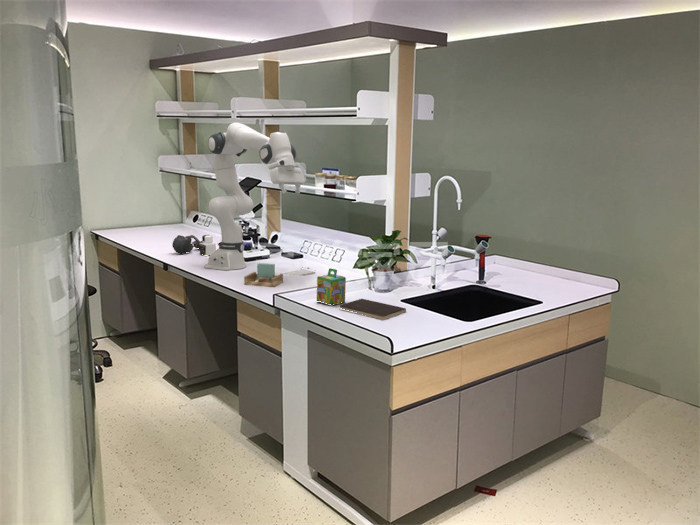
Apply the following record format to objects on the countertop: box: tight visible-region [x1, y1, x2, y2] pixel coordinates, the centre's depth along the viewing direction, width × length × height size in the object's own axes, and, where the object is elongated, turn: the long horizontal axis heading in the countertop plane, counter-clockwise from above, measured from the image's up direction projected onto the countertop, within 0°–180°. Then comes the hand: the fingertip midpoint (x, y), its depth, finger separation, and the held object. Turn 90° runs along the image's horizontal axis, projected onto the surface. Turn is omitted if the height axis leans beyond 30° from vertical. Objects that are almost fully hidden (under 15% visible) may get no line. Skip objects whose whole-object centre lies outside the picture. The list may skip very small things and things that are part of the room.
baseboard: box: [280, 266, 316, 277], centre depth 320 cm, size 31×3×12 cm
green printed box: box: [316, 268, 347, 306], centre depth 268 cm, size 9×9×15 cm
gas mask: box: [171, 234, 203, 255], centre depth 381 cm, size 14×9×25 cm
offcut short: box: [258, 277, 271, 282], centre depth 297 cm, size 5×4×2 cm
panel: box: [256, 262, 276, 283], centre depth 301 cm, size 8×2×9 cm, turn 74°
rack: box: [243, 271, 284, 288], centre depth 299 cm, size 15×11×5 cm
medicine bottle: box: [199, 234, 217, 256], centre depth 373 cm, size 7×7×12 cm
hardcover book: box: [338, 298, 407, 321], centre depth 258 cm, size 16×23×2 cm
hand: (291, 193), depth 291 cm, fingers open, 8 cm apart
